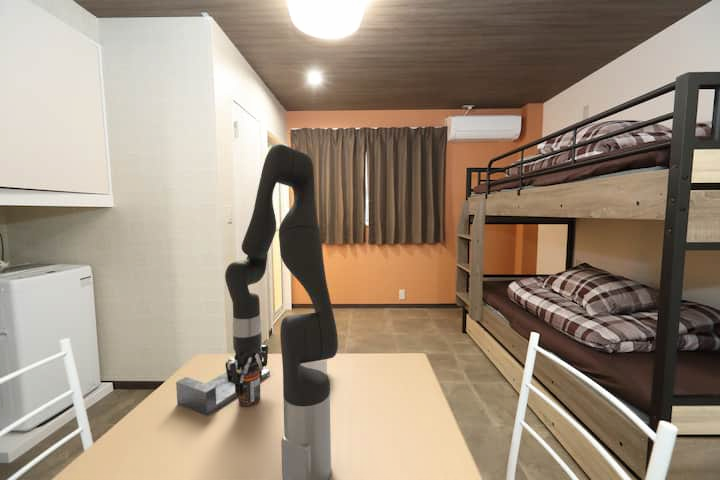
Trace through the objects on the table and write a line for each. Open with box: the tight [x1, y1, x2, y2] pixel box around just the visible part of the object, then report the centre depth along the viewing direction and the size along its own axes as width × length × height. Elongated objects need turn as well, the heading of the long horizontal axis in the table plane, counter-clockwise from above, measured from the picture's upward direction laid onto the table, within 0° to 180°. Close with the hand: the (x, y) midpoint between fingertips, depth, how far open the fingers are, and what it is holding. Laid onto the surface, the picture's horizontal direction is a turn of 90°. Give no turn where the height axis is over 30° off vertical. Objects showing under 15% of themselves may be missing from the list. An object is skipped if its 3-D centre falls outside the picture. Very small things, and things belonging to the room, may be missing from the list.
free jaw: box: [226, 354, 241, 369], centre depth 106 cm, size 9×9×5 cm
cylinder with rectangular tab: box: [300, 359, 328, 376], centre depth 106 cm, size 9×9×12 cm
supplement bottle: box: [237, 361, 261, 407], centre depth 91 cm, size 6×6×11 cm
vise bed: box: [175, 368, 271, 417], centre depth 98 cm, size 24×12×6 cm, turn 154°
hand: (249, 388), depth 92 cm, fingers closed on supplement bottle, 6 cm apart
